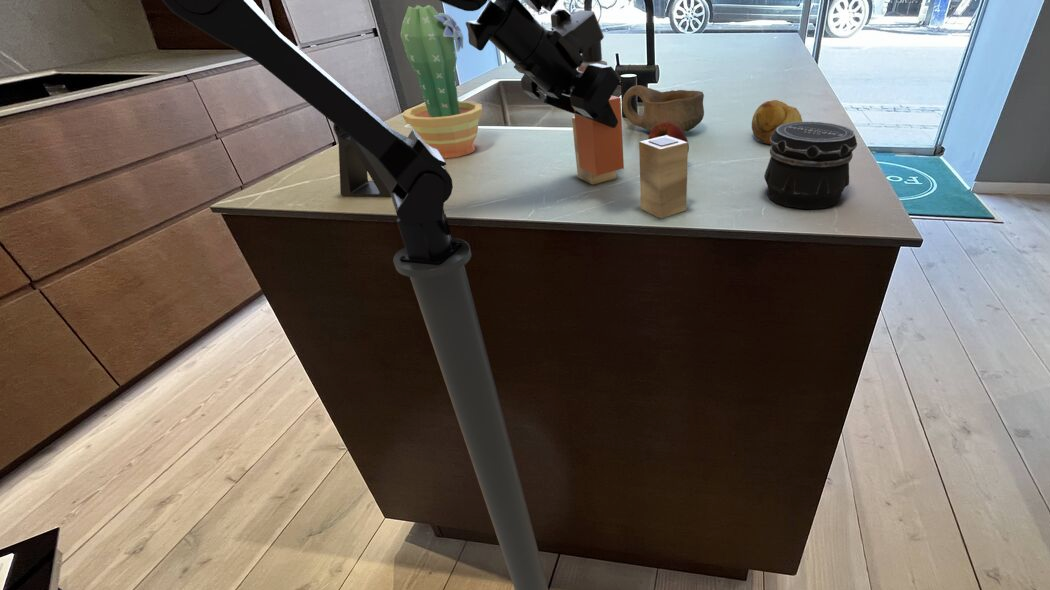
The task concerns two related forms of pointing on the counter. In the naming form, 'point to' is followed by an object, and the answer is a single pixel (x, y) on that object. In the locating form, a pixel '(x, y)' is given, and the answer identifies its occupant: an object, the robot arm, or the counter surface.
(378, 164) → the phone stand
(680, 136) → the apple
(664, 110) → the bowl
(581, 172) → the maple block back
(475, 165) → the counter surface
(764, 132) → the bread roll
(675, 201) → the maple block front
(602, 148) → the terracotta block
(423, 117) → the potted cactus
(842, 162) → the container
